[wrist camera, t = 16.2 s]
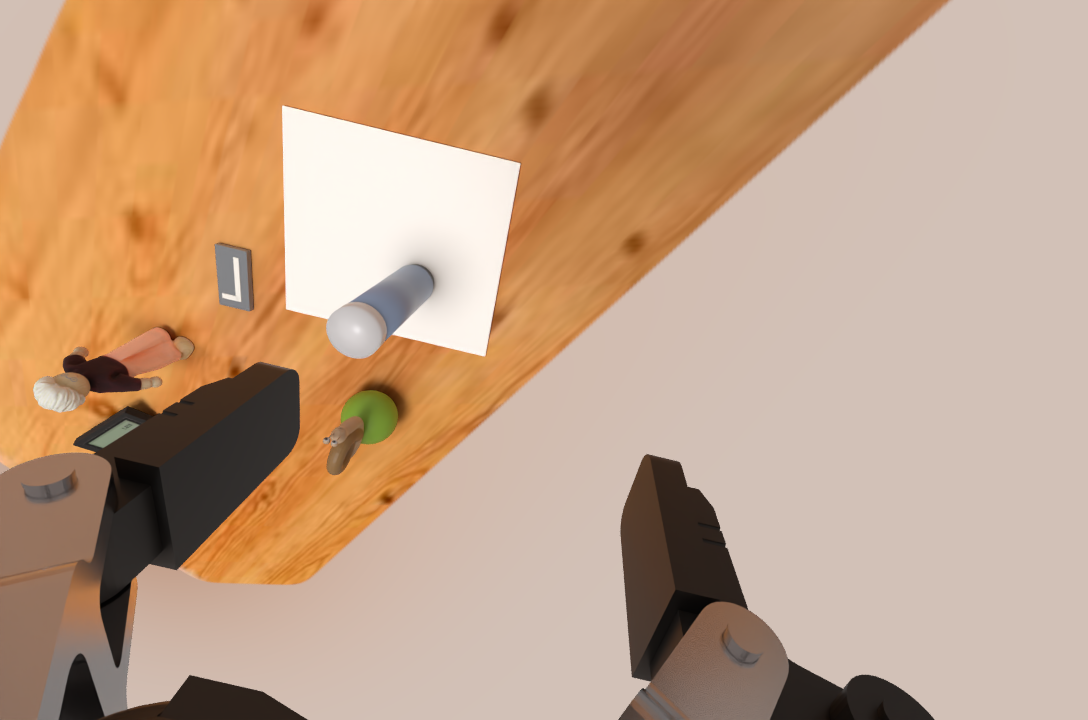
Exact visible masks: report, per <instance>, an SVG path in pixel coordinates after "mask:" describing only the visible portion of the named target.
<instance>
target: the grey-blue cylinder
mask: <svg viewBox="0 0 1088 720" xmlns="http://www.w3.org/2000/svg"><path fill="white" fill-rule="evenodd" d="M433 288H434V278H433V276H432V274H431V272H430V271H429V270H428V269H427V268H425V267H424V266H422V265H418V264H412V265H406V266H403V267H401V268H400V269H398V270H397V271H395V272H394V273H392V274H391V275H389V276H388V277H386V278H385V279H383V280H382V281H381V282H379V283H378V284H376V285H375V286H373V287H372V288H370V289H369V290H367V291H366V292H364V293H363V294H361V295H360V296H358V297H357V298H355V299H354V300H352V301H351V302H349V303H347V304H345V305H343V306H342V307H340V308H339V309H337V310H336V311H334V312H333V313H332V314H331V315H330V317H329V318H328V321H327V326H326V329H327V335H328V338H329V340H330V342H331V343H332V345H333V346H334V347H335V348H336V349H337V350H338V351H339V352H341V353H342V354H344V355H346V356H348V357H352V358H366V357H368V356H370V355H372V354H373V353H374V352H375V351H376V350H377V349H378V348H379V347H380V346H381V345H382V344H383V343H384V341H386V340H387V339H388V338H389V337H390V336H391V335H392V334H393V333H394V332H395V331H396V330H397V329H398V328H399V327H400V326H401V325H402V324H403V323H404V322H405V321H406V320H407V319H408V318H409V317H410V316H411V315H412V314H413V313H414V312H415V311H416V310H417V309H418V308H419V307H420V306H421V305H422V304H423V303H424V302H425V301H426V300H427V299H428V298H429V297H430V296H431V294H432V292H433Z"/></svg>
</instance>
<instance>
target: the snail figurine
mask: <svg viewBox="0 0 1088 720" xmlns="http://www.w3.org/2000/svg"><path fill="white" fill-rule="evenodd" d="M397 421H398V411H397V407H396V405H395V403H394V402H393V400H392V399H391V398H390V397H389V396H387V395H386V394H384V393H382V392H379V391H375V390H367V391H362V392H359V393H357V394H355V395H354V396H352V397H351V398H350V399H349V400H348V401H347V402H346V403H345V405H344V407H343V409H342V413H341V424H340V426H339V427H337V428H335V429H334V430H333V431H332V433H331V435H330V436H329V437H326V438H324V439H323V443H324V444H328V443H330V439H329V438H330V437H331V440H332V442H331V446H332V448H331V450H330V453H329V456H328V460H327V470H328V472H329V473H330V474H332V475H338V474H340V473H341V472H343V470H344V469H345V468H346V466H347V464H348V463H349V461H350V458H351V457H352V456H353V455H354V454H355V453H356V451H357V449H358V448H359V446H360V443H362V444H375V443H378V442H381V441H383V440H385V439H386V438H387V437H389V436H390V435H391V434H392V432H393V431H394V429H395V427H396V425H397Z"/></svg>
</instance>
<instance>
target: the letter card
mask: <svg viewBox="0 0 1088 720" xmlns="http://www.w3.org/2000/svg"><path fill="white" fill-rule="evenodd" d="M215 253H216V265H217V277H218V289H219V301H220V304H221V305H225V306H229V307H234V308H238V309H242V310H246V311H251V310H253V309H254V306H253V286H252V267H251V250H247V249H243V248H239V247H235V246H231V245H226V244H222V243H217V244H215Z"/></svg>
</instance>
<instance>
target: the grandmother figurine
mask: <svg viewBox="0 0 1088 720" xmlns="http://www.w3.org/2000/svg"><path fill="white" fill-rule="evenodd" d="M193 350H194V346H193V344H192V342H191V341H190V340H188V339H187V338H185V337H177V338H176V339H175V340H174V341H172V340H171V338H170V335H169V334H168V332H167V331H166V330H164V329H162V328H159V327H154V328H153V329H151V330H149V331H147V332H145V333H143V334H141V335H140V336H138V337H136V338H134V339H132V340H131V341H129V342H128V343H126V344H124V345H122V346H120V347H118V348H117V349H115V350H113V351H112V352H110V353H108V354H106V355H103V356H99V357H98V358H95V359H92V360H89V361H86V360H85V357H86V356H88V354H89V351H88V350H87V349H86V348H85V347H77V348H75V349H74V351H73V353H71V354H70V355H69V356H67V357H65V358H64V361H63V368H64V371H65V373H62V374H59V375H57V376H55V377H50V376H46V377H43V378H41V379H39V380H38V381H37V382H36V383H35V385H34V388H33V391H34V397H35V399H36V400H37V401H38V404H39V405H40V406H42V407H43V408H45V409H50V410H54V411H57V412H65V411H72V410H74V409H76V408H77V407H78V406H79V405H81V404H83V403H84V402H85V397H86V396H87V395H88V393H89V391H93V392H97V393H105V392H128V391H139V390H142V389H148V388H150V387H159V386H161V384H162V380H161V378H159V377H151V378H141V379H139V378H134V376H136V375H138V374H142V373H146V372H150V371H154V370H158V369H160V368H162V367H165V366H167V365H169V364H171V363H173V362H175V361H178V360H179V359H181V360H184V359H187V358H188V357H189V356H190V354H191V353H192V352H193Z"/></svg>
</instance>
